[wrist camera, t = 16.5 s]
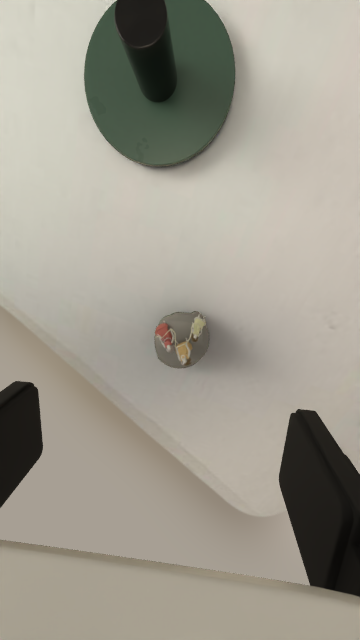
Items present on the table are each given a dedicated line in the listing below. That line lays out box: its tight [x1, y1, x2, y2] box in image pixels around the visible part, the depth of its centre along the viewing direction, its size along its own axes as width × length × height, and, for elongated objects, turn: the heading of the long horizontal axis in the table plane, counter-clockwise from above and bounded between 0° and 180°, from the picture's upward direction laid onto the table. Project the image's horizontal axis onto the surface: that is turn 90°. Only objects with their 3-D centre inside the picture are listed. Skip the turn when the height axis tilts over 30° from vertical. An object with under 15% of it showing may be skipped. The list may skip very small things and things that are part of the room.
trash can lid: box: [84, 0, 235, 167], centre depth 17 cm, size 10×10×7 cm
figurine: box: [155, 311, 209, 368], centre depth 21 cm, size 5×4×6 cm
